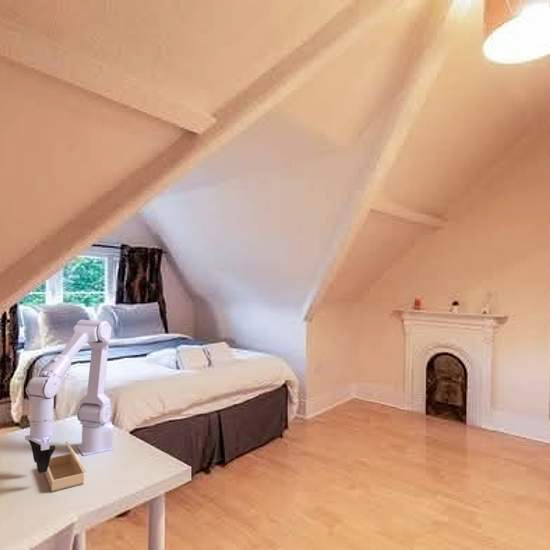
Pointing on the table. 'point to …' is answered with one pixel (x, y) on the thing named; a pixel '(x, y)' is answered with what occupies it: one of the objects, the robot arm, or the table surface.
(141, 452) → the table surface
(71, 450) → the lid flap
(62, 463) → the carton
